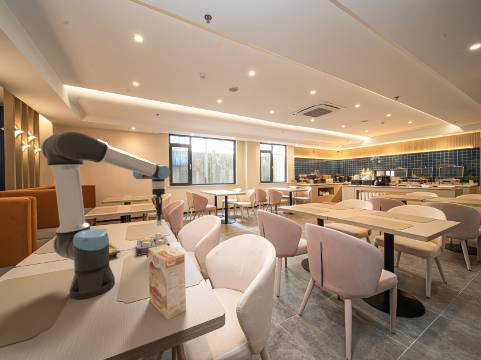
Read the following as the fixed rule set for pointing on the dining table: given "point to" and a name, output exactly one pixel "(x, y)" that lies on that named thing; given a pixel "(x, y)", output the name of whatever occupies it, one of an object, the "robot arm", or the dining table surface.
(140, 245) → the button board
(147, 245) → the button
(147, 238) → the button
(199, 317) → the dining table surface
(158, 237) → the button
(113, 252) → the puzzle game
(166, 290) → the coffeecake box
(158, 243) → the button
